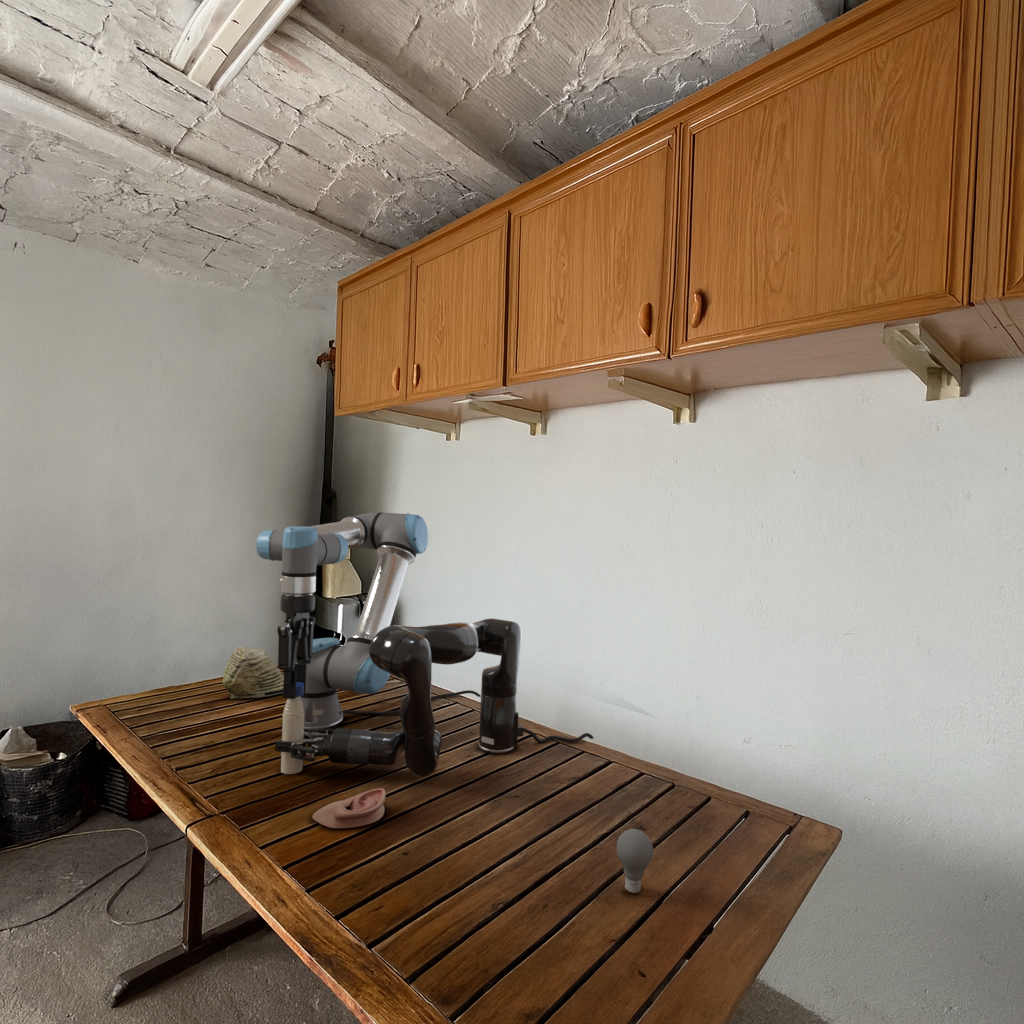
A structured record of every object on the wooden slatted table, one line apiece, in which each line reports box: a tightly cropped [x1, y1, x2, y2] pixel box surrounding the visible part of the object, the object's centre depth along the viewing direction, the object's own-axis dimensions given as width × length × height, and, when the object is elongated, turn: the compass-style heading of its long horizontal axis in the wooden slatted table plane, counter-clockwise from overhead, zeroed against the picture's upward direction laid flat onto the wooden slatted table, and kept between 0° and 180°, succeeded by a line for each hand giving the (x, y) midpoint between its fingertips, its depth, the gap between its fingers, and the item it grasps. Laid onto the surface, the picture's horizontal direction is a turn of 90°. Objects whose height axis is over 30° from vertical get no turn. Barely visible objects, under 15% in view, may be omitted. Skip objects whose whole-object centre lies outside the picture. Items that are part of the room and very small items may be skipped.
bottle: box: [280, 696, 305, 775], centre depth 146 cm, size 5×5×19 cm
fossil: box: [222, 646, 284, 699], centre depth 198 cm, size 9×18×15 cm, turn 132°
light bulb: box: [615, 828, 654, 894], centre depth 106 cm, size 6×6×10 cm
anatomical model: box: [311, 787, 387, 829], centre depth 126 cm, size 13×4×12 cm
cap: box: [296, 682, 304, 697], centre depth 146 cm, size 4×4×2 cm
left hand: (294, 694), depth 146 cm, fingers closed on cap, 4 cm apart
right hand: (281, 741), depth 146 cm, fingers closed on bottle, 5 cm apart
